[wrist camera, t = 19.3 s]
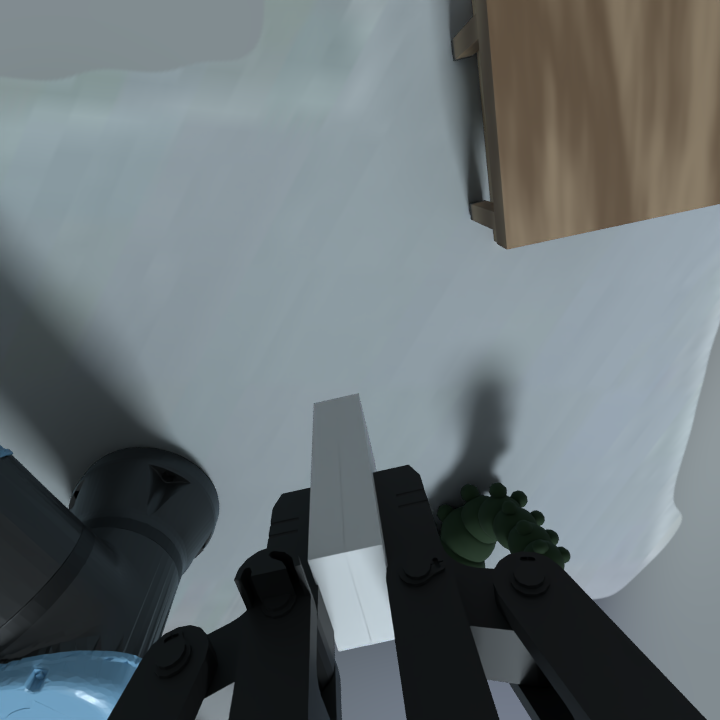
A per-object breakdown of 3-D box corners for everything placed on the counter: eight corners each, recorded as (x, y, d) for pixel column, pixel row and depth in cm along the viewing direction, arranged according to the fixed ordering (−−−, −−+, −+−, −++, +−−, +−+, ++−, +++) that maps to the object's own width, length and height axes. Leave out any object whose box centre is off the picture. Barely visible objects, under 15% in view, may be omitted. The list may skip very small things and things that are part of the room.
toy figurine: (456, 443, 54) (363, 604, 60) (530, 559, 36) (388, 772, 42) (522, 470, 57) (426, 623, 62) (622, 591, 39) (474, 789, 44)
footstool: (507, 249, 34) (732, 201, 33) (484, -20, 28) (762, -88, 27) (472, 230, 43) (647, 192, 42) (449, 25, 37) (655, -24, 36)
